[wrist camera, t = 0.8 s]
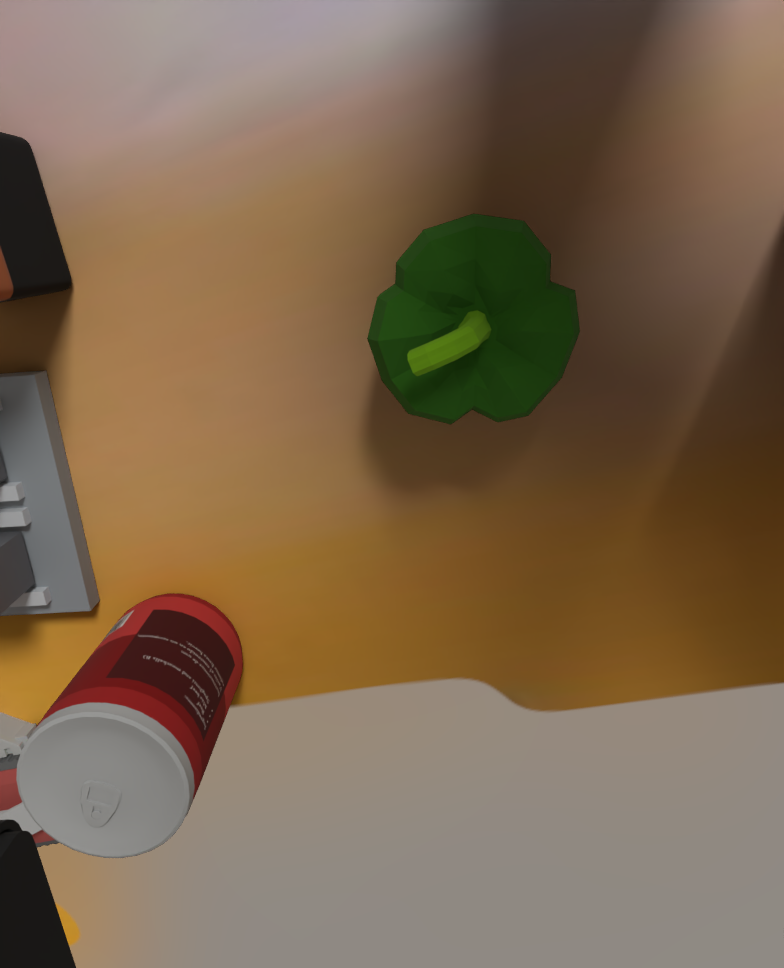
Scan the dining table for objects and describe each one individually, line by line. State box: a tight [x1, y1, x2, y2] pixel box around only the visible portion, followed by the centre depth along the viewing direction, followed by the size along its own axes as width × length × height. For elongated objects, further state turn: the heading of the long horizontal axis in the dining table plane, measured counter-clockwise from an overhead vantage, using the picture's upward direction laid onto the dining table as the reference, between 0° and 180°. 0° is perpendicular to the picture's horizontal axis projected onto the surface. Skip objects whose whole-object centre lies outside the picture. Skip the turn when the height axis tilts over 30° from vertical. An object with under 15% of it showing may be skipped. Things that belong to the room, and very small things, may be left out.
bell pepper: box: [367, 214, 580, 424], centre depth 30 cm, size 8×8×10 cm
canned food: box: [16, 594, 243, 858], centre depth 36 cm, size 8×8×11 cm
